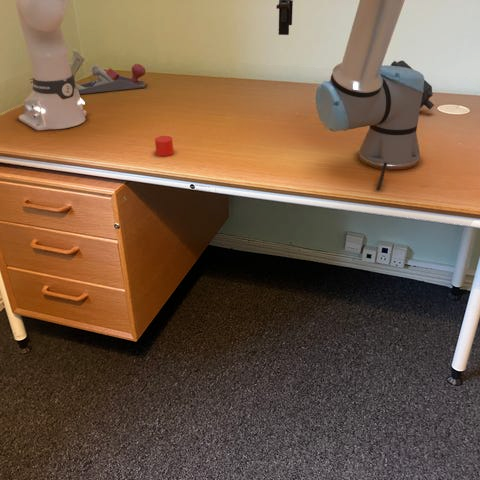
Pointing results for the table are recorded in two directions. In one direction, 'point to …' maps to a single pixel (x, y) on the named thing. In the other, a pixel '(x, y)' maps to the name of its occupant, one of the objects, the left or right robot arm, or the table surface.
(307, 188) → the table surface
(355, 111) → the right robot arm
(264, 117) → the table surface
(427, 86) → the tool
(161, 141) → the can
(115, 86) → the hand plane
